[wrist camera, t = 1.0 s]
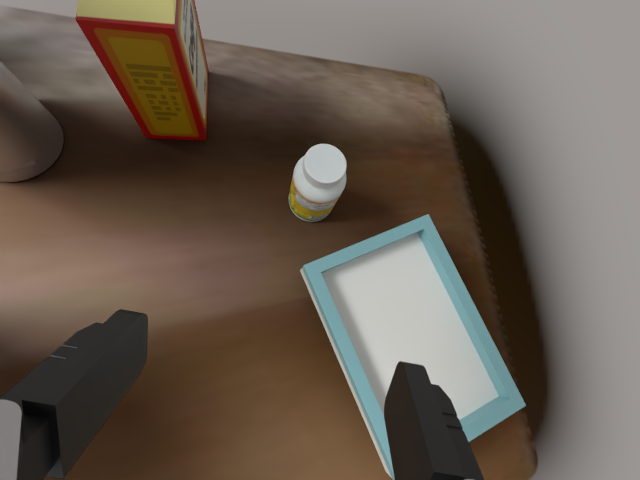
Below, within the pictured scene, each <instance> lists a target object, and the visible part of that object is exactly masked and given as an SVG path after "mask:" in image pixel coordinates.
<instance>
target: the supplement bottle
mask: <svg viewBox="0 0 640 480" xmlns="http://www.w3.org/2000/svg"><path fill="white" fill-rule="evenodd" d="M346 167H347V164H346V159H345V157H344V155H343V153H342V152H341V151H340V150H339V149H338V148H336V147H334V146H332V145H329V144H317V145H315V146H313V147H311V148H310V149H309V150H308V151H307V153H306V154H305V155H304V156H303V157H302V158H301V159H300V160H299V161H298V162H297V164H296V166H295V168H294V172H293V177H292V182H291V186H290V191H289V205H290V208H291V210H292V212H293V213H294V214H295V215H296V216H297V217H298V218H300V219H302V220H304V221H309V222H316V221H320V220H322V219H324V218H325V217H327V216H328V215H329V213H330V212H331V210H332V209H333V207H334V205H335V203H336V202H337V200H338V198H339V197H340V195H341V193H342V192H343V190H344V188H345V185H346Z"/></svg>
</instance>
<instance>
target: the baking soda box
mask: <svg viewBox="0 0 640 480" xmlns="http://www.w3.org/2000/svg"><path fill="white" fill-rule="evenodd" d="M76 21H77V23H78V24H79V26H80V28H81V29H82V31H83V33H84V34H85V36H86V38H87V39H88V41H89V43H90V44H91V46H92V48H93V49H94V51H95V53H96V54H97V56H98V58H99V59H100V61H101V63H102V64H103V66H104V68H105V69H106V71H107V73H108V74H109V76H110V78H111V80H112V81H113V83H114V85H115V86H116V88H117V90H118V91H119V93H120V95H121V96H122V98H123V100H124V101H125V103H126V105H127V106H128V108H129V110H130V111H131V113H132V115H133V116H134V118H135V120H136V121H137V123H138V125H139V126H140V128H141V130H142V131H143V133H144V135H145V136H146V138H153V139H178V140H203V141H206V139H207V108H208V78H209V71H208V66H207V61H206V56H205V51H204V46H203V41H202V37H201V31H200V26H199V21H198V16H197V11H196V6H195V1H194V0H79V1H78V7H77V13H76Z"/></svg>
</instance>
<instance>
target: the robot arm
mask: <svg viewBox="0 0 640 480" xmlns="http://www.w3.org/2000/svg"><path fill="white" fill-rule="evenodd" d="M63 142H64V138H63V131H62V128H61V126H60V124H59V123H58V121H57V120H56V118H55V117H54V116H53V115H52V114H51V113H50V112H49V111H48V110H47V109H46V108H45V107H44V106H43V105H42V104H41V103H40V102H39V101H38V100H37V99H36V98H35V97H34V96H33V94H32V93H31V92H30V91H29V90H28V89H27V88H26V87H25V86H24V85H23V84H22V83H21V82H20V81H19V80H18V79H17V78H16V77H15V76H14V75H13V74H12V73H11V72H10V71H9V70H8V69H7V68H6V67H5V66H4V65H3V64H2V62H1V61H0V181H1V182H17V181H23V180H27V179H30V178H32V177H35V176H37V175H39V174H41V173H42V172H44V171H46V170H47V169H48V168H49V167H50V166H51V165H53V163H54V162H55V161H56V160H57V158H58V157H59V155H60V153H61V150H62V147H63ZM147 331H148V318H147V315H146V314H144V313H138V312H133V311H127V310H122V309H120V310H118V311H116V312H115V313H114V314H113V315H112V316H111V317H110V318H109V319H108V320H107V321H106V322H104V323H103V324H102V323H94V324H92V325H90V326H88V327H86V328H84V329H82V330H80V331H78V332H76V333H75V334H74V335H73V336H72V337H71V338H70V339H68V340H67V341H66V342H65V343H64V344H63V346H62V347H59V348H58V349H57V350H56V351H55V352H53V353H52V354H51V357H48V358H46V359H45V360H44V361H43V362H42V363H41V364H39V365H38V366H37V367H36V368H35V369H34V370H33V371H31V372H30V373H29V374H28V375H27V376H26V377H24V378H23V379H22V380H21V381H20V382H19V383H18V384H16V385H15V386H14V387H13V388H12V389H11V390H9V391H8V392H7V393H6V394H5V395H4V396H2V397H1V398H0V480H43V478H44V477H45V476H47V477H53V478H59V479H64V477H65V476H66V475H67V473H68V472H69V471H70V469H71V468H72V466H73V465H74V464H75V462H76V461H77V460H78V458H79V457H80V455H81V454H82V453H83V451H84V450H85V449H86V447H87V446H88V445H89V443H90V442H91V440H92V439H93V438H94V436H95V435H96V434H97V432H98V431H99V429H100V428H101V427H102V425H103V424H104V423H105V421H106V420H107V419H108V417H109V416H110V414H111V413H112V412H113V410H114V409H115V408H116V406H117V405H118V403H119V402H120V401H121V399H122V398H123V397H124V395H125V394H126V393H127V391H128V390H129V388H130V387H131V386H132V384H133V383H134V382H135V380H136V379H137V377H138V376H139V375H140V373H141V371H142V369H143V367H144V364H145V361H146V357H147ZM384 420H385V426H386V431H387V437H388V443H389V449H390V455H391V460H392V466H393V472H394V478H395V480H484V478H483V476H482V473H481V471H480V469H479V466H478V464H477V461H476V459H475V457H474V454H473V452H472V449H471V447H470V444H469V442H468V440H467V437H466V435H465V432H464V431H463V430H462V429H463V428H462V425H461V423H460V420H459V418H457V413H456V411H455V408H454V406H453V404H452V401H451V399H450V398H449V397H448V396H447V394H446V393H445V392H444V391H443V390H442V388H441V387H440V386H439V385H435V384H431V382H430V379H429V377H428V374H427V371H426V369H425V367H424V366H423V365H419V364H413V363H408V362H402V361H400V362H398V364H397V366H396V369H395V372H394V375H393V378H392V381H391V383H390V386H389V389H388V392H387V395H386V398H385V404H384Z"/></svg>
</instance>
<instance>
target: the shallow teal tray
mask: <svg viewBox="0 0 640 480" xmlns="http://www.w3.org/2000/svg"><path fill="white" fill-rule="evenodd" d="M300 272H301V274H302V277H303V279H304V281H305V284H306V286H307V288H308V291H309V293H310V295H311V298H312V300H313V302H314V305H315V307H316V309H317V312H318V314H319V316H320V319H321V321H322V323H323V326H324V328H325V330H326V333H327V335H328V337H329V340H330V342H331V344H332V347H333V349H334V351H335V354H336V356H337V358H338V361H339V363H340V366H341V368H342V370H343V373H344V375H345V377H346V380H347V382H348V384H349V387H350V389H351V391H352V394H353V396H354V398H355V401H356V403H357V405H358V408H359V410H360V412H361V415H362V417H363V419H364V422H365V424H366V426H367V429H368V431H369V433H370V436H371V438H372V440H373V443H374V445H375V447H376V450H377V452H378V454H379V457H380V459H381V461H382V464H383V466H384V468H385V471H386V472H387V473H388V474H389V476H390V477H391V478H392V479H393V480H395V478H394V472H393V466H392V460H391V455H390V449H389V443H388V437H387V431H386V426H385V420H384V404H385V398H386V395H387V392H388V389H389V386H390V383H391V381H392V378H393V375H394V372H395V369H396V366H397V364H398V362H400V361H402V362H408V363H413V364H419V365H423V366H424V367H425V369H426V371H427V374H428V377H429V379H430V382H431V384H435V385H439V386H440V387H441V388H442V390H443V391H444V392H445V393H446V394H447V396H448V397H449V398H450V399H451V401H452V404H453V406H454V408H455V411H456V413H457V418H459V420H460V423H461V425H462V428H463V429H462V430H463V431H464V432H465V435H466V437H467V440H468V442H470V441H471V440H473V439H474V438H476V437H477V436H479V435H481V434H482V433H484V432H485V431H487V430H488V429H490V428H492V427H493V426H495V425H496V424H498V423H499V422H501V421H503V420H504V419H506V418H507V417H509V416H510V415H512V414H514V413H515V412H517V411H518V410H520V409H521V408H523V407H524V406H526V404H525V403H524V401H523V398H522V397H521V395H520V393H519V391H518V389H517V387H516V385H515V383H514V381H513V379H512V377H511V375H510V373H509V371H508V369H507V367H506V365H505V363H504V361H503V359H502V357H501V355H500V353H499V351H498V350H497V348H496V346H495V344H494V342H493V340H492V338H491V336H490V334H489V332H488V330H487V328H486V326H485V324H484V322H483V320H482V318H481V316H480V314H479V312H478V310H477V308H476V306H475V304H474V302H473V301H472V299H471V297H470V295H469V293H468V291H467V289H466V287H465V285H464V283H463V281H462V279H461V277H460V275H459V273H458V271H457V269H456V267H455V265H454V263H453V261H452V259H451V257H450V255H449V253H448V252H447V250H446V248H445V246H444V244H443V242H442V240H441V238H440V236H439V234H438V232H437V230H436V228H435V226H434V224H433V222H432V220H431V218H430V216H429V214H427V215H425V216H422V217H420V218H418V219H415V220H413V221H410V222H408V223H405V224H403V225H401V226H398V227H396V228H393V229H391V230H388V231H386V232H383V233H381V234H379V235H376V236H374V237H371V238H369V239H366V240H364V241H361V242H359V243H357V244H354V245H352V246H349V247H347V248H344V249H342V250H340V251H337V252H335V253H332V254H330V255H327V256H325V257H322V258H320V259H318V260H315V261H313V262H310V263H308V264H305V265H303V267H302V268H301V270H300Z"/></svg>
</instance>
